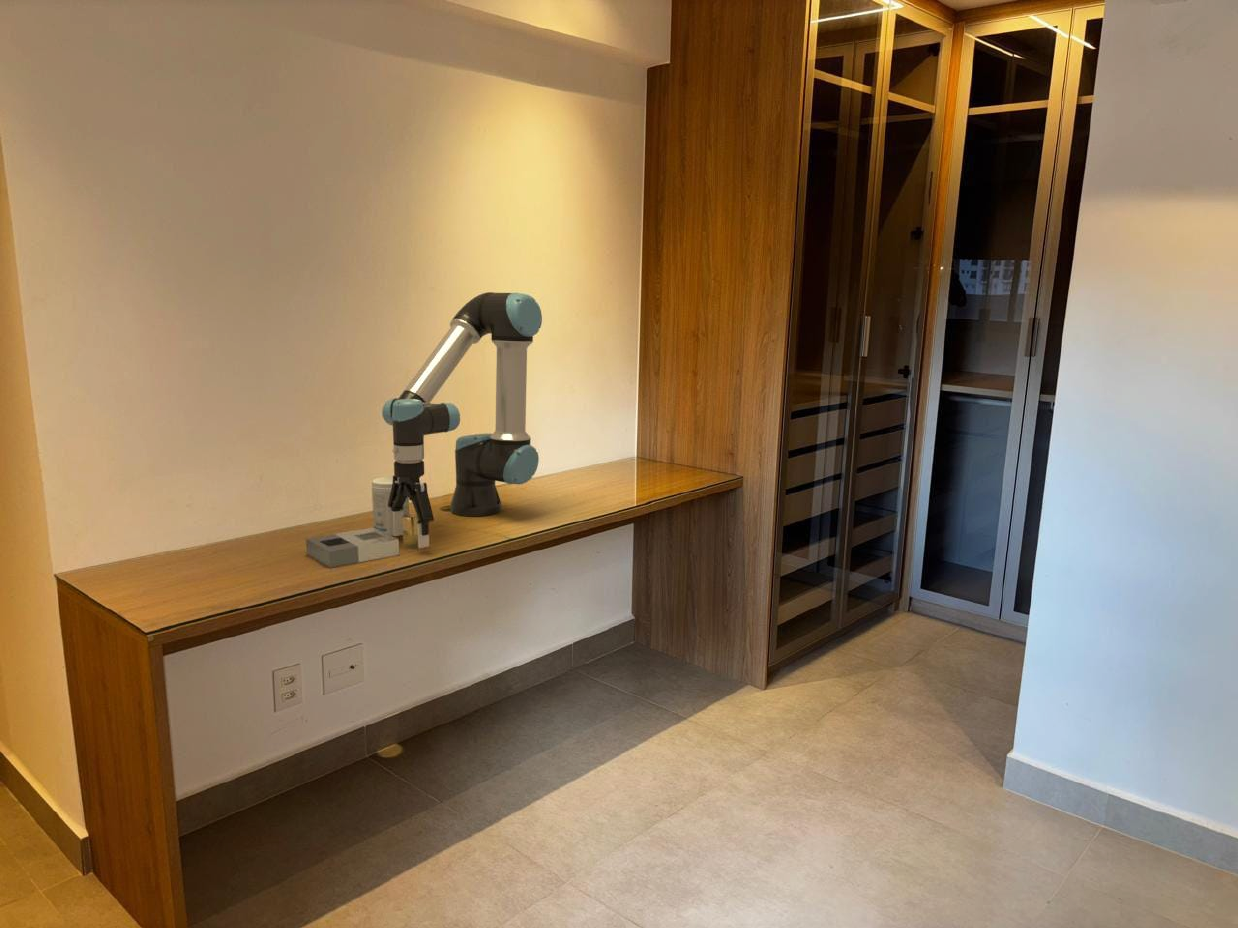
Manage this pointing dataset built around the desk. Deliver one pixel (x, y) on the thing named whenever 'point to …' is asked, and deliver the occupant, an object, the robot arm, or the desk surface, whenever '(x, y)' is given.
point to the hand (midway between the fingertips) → (410, 541)
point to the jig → (352, 547)
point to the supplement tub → (384, 504)
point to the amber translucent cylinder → (410, 531)
